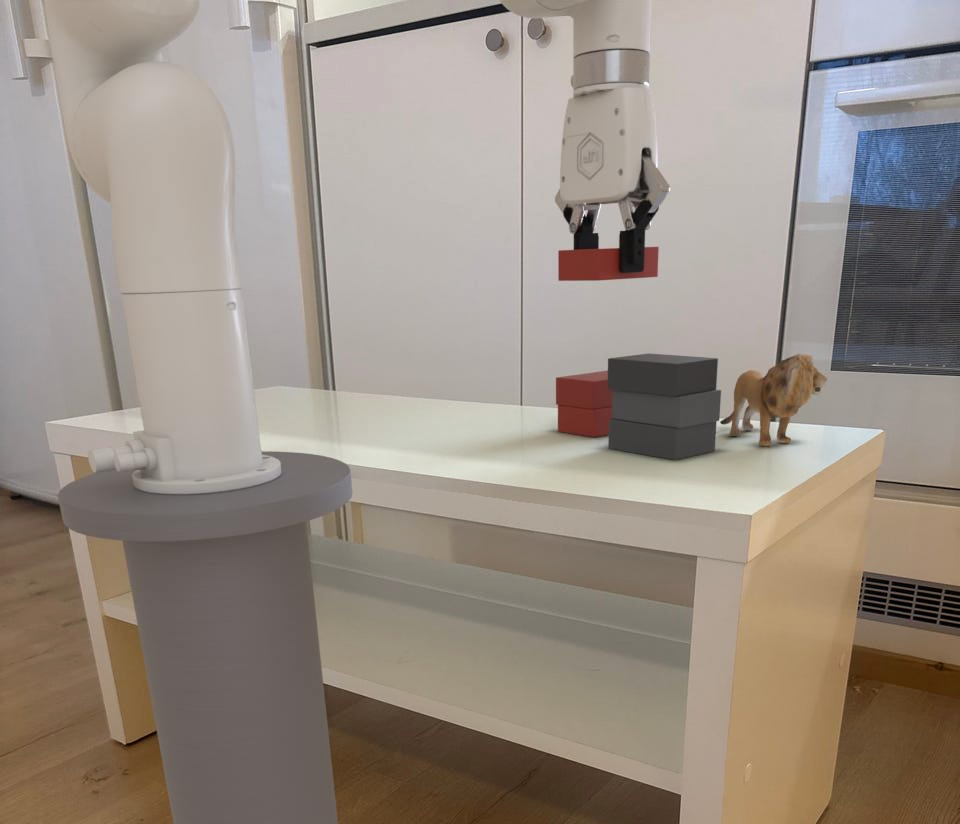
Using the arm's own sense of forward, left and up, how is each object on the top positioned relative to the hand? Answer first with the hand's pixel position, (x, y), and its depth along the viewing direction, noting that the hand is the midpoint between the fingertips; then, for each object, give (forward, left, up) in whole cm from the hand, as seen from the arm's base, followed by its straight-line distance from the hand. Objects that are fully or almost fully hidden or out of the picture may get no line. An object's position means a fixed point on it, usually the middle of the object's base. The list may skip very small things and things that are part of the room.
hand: (608, 270), depth 101 cm
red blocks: (+1, +1, -17) cm, 17 cm away
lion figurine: (+8, -16, -17) cm, 25 cm away
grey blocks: (-4, -12, -17) cm, 21 cm away
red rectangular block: (0, 0, -1) cm, 1 cm away
